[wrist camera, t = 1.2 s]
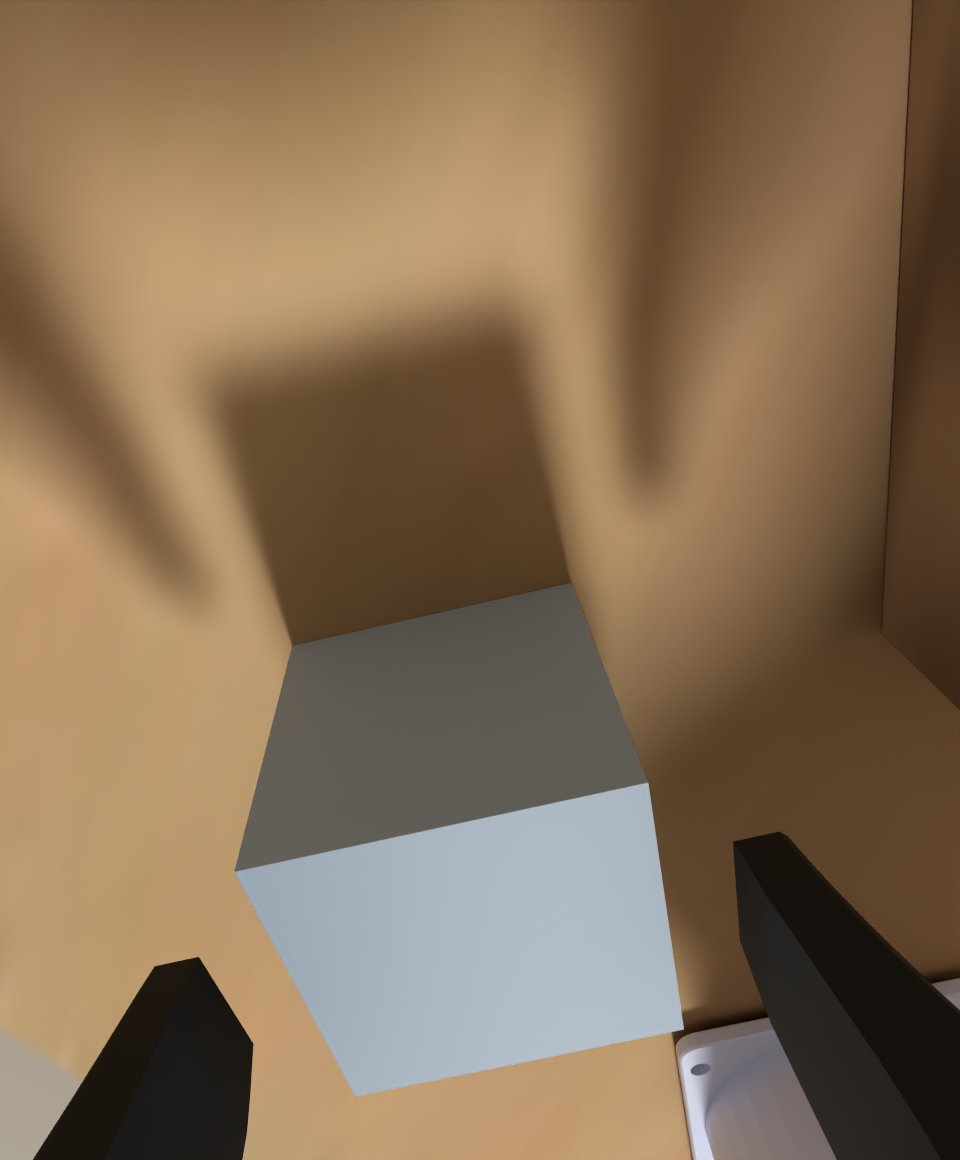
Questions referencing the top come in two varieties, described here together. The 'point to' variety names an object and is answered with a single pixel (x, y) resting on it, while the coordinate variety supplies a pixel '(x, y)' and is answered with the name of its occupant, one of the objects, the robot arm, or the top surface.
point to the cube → (460, 846)
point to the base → (928, 366)
